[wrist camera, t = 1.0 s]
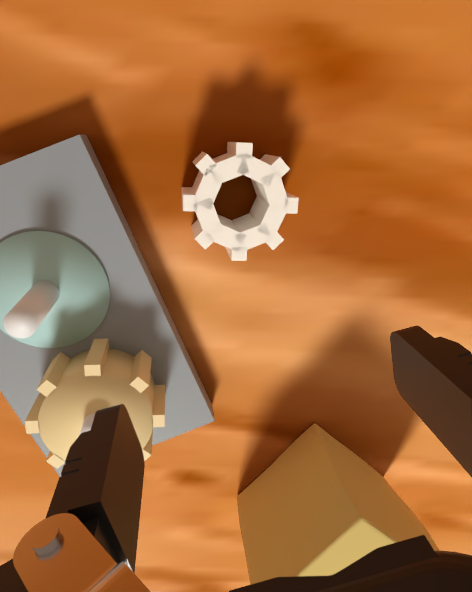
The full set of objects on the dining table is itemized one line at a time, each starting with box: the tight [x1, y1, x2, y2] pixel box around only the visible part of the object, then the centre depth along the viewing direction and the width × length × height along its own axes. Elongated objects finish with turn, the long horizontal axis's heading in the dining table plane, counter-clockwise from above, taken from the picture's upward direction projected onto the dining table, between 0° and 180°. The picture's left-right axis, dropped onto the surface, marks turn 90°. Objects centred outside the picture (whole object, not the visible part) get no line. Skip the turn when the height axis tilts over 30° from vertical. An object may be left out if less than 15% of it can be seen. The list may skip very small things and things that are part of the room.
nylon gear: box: [182, 142, 299, 261], centre depth 26 cm, size 6×6×4 cm
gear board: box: [0, 134, 215, 477], centre depth 26 cm, size 12×21×7 cm, turn 20°
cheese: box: [237, 423, 439, 585], centre depth 33 cm, size 10×11×10 cm
